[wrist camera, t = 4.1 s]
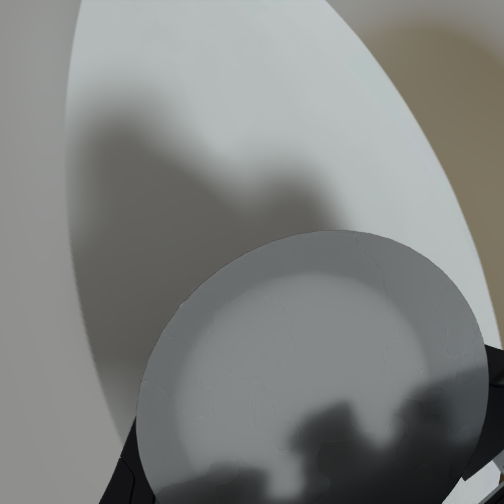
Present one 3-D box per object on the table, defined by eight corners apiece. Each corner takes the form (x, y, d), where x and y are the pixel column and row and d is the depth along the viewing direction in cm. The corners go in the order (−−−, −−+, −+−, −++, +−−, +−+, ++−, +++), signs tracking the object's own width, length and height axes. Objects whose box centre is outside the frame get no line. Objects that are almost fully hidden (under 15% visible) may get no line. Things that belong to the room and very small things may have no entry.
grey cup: (349, 376, 16) (519, 406, 5) (250, 452, 15) (295, 605, 3) (275, 279, 17) (367, 165, 6) (171, 354, 16) (59, 381, 4)
